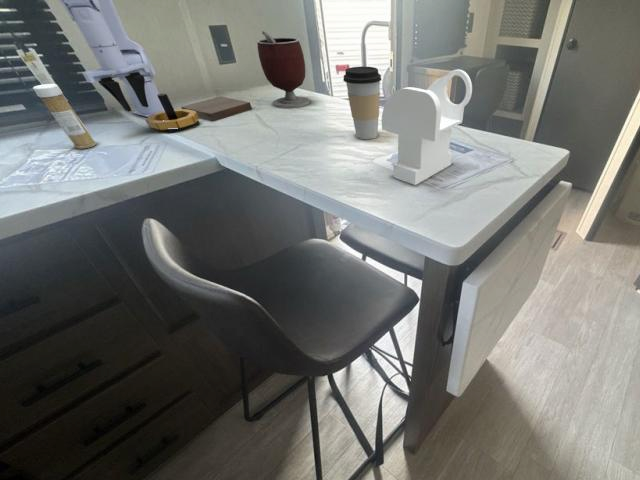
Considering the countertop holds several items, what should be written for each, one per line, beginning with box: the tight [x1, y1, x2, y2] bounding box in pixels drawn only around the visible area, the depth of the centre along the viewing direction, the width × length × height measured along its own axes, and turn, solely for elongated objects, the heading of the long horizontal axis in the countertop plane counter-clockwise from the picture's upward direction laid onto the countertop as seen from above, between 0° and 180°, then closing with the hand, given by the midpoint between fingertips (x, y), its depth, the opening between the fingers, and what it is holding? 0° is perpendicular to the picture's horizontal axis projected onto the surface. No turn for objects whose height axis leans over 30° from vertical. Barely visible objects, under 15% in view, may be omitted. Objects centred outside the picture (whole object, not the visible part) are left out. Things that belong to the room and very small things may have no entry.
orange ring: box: [145, 108, 199, 131], centre depth 92 cm, size 13×13×2 cm
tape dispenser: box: [381, 68, 473, 186], centre depth 64 cm, size 14×13×18 cm
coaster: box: [180, 95, 253, 122], centre depth 103 cm, size 15×15×2 cm
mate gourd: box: [256, 30, 310, 109], centre depth 102 cm, size 16×14×20 cm
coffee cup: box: [343, 66, 382, 140], centre depth 81 cm, size 9×9×15 cm
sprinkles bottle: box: [32, 83, 97, 150], centre depth 77 cm, size 5×5×14 cm
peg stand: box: [157, 93, 200, 134], centre depth 90 cm, size 9×9×8 cm
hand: (137, 108), depth 86 cm, fingers open, 4 cm apart
